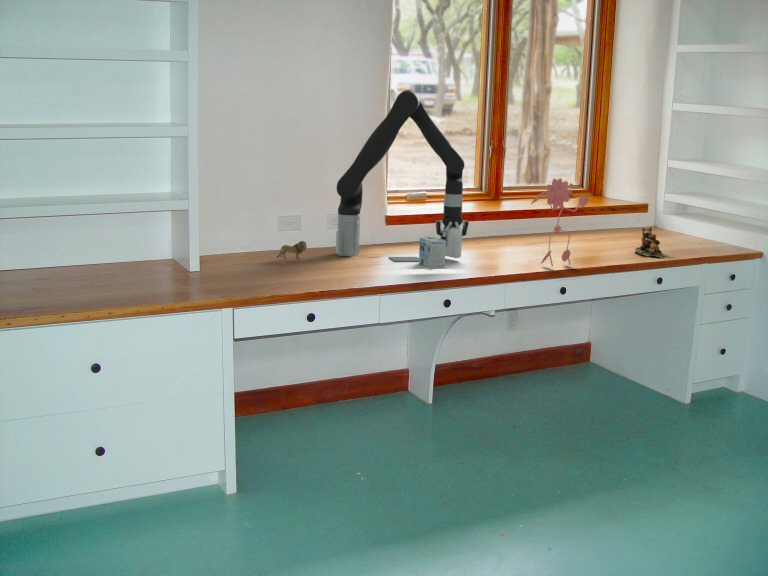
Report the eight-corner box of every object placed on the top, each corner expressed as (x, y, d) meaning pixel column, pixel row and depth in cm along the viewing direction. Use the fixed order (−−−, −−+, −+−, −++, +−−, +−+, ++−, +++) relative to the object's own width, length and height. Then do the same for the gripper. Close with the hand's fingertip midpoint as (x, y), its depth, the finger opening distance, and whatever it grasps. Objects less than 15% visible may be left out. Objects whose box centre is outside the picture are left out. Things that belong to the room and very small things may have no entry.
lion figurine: (306, 258, 365) (306, 240, 363) (306, 260, 360) (306, 241, 359) (276, 257, 364) (277, 239, 363) (276, 259, 360) (276, 241, 358)
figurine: (587, 264, 372) (594, 179, 365) (537, 267, 360) (543, 180, 353) (564, 258, 385) (570, 176, 378) (514, 261, 373) (520, 176, 366)
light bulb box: (418, 263, 361) (419, 236, 359) (433, 262, 364) (434, 236, 362) (429, 268, 352) (431, 240, 349) (445, 267, 354) (446, 240, 352)
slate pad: (394, 261, 362) (394, 261, 362) (388, 257, 372) (388, 256, 372) (423, 261, 365) (423, 260, 365) (416, 257, 375) (416, 256, 375)
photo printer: (437, 255, 375) (439, 225, 372) (445, 254, 377) (446, 224, 375) (454, 258, 367) (456, 228, 364) (462, 258, 370) (464, 228, 367)
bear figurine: (634, 256, 399) (636, 229, 397) (633, 251, 413) (636, 225, 411) (666, 258, 396) (668, 231, 393) (664, 253, 410) (667, 227, 408)
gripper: (439, 205, 362) (436, 247, 366) (472, 206, 366) (470, 247, 369) (433, 203, 370) (431, 244, 373) (466, 204, 373) (464, 244, 376)
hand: (450, 245), depth 371 cm, fingers closed on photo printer, 5 cm apart
